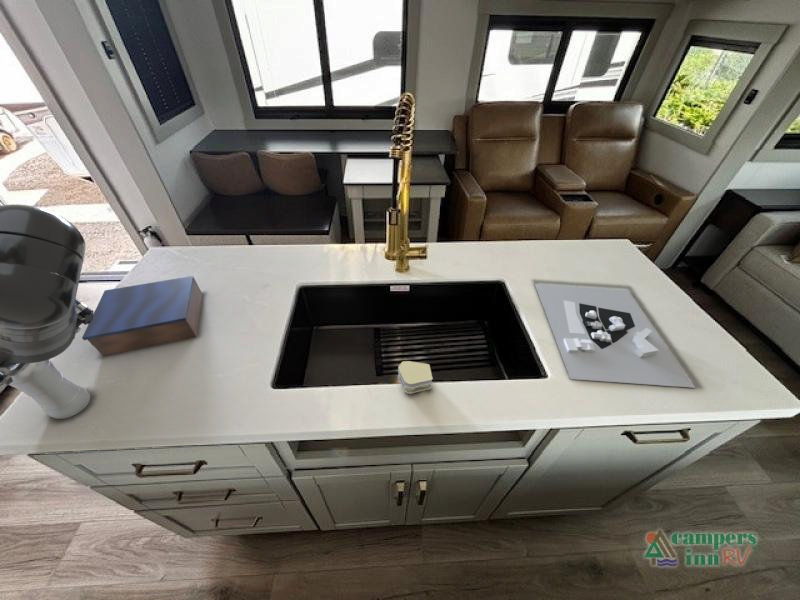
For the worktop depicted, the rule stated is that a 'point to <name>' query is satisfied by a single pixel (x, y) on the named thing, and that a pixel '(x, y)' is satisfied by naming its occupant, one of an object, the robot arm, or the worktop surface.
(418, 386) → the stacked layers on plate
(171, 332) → the lidded box
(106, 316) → the box lid
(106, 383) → the worktop surface
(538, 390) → the worktop surface
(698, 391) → the worktop surface
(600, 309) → the architectural model
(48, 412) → the plastic bottle
